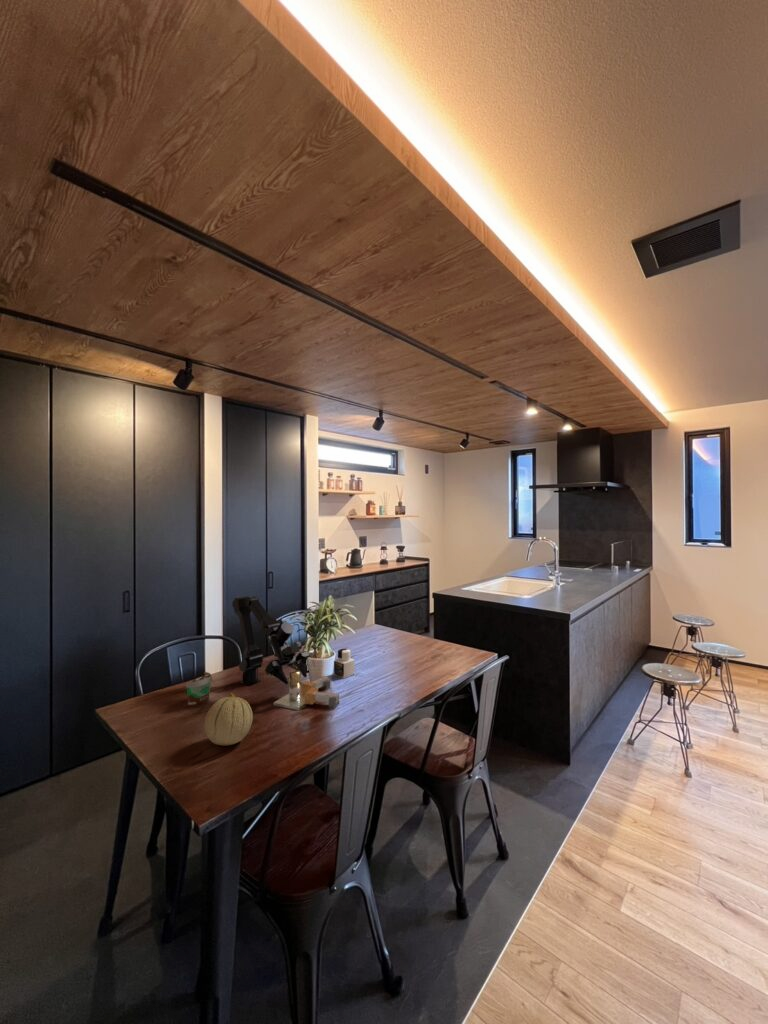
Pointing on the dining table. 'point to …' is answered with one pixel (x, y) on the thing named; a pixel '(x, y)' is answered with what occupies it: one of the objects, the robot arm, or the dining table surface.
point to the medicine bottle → (344, 664)
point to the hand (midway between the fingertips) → (296, 680)
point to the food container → (199, 690)
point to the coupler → (294, 685)
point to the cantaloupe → (228, 720)
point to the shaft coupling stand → (311, 695)
